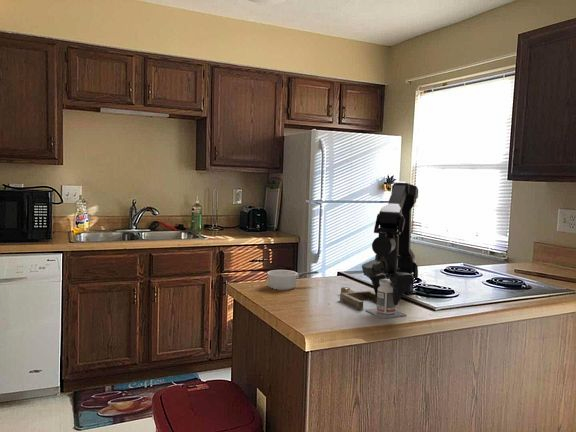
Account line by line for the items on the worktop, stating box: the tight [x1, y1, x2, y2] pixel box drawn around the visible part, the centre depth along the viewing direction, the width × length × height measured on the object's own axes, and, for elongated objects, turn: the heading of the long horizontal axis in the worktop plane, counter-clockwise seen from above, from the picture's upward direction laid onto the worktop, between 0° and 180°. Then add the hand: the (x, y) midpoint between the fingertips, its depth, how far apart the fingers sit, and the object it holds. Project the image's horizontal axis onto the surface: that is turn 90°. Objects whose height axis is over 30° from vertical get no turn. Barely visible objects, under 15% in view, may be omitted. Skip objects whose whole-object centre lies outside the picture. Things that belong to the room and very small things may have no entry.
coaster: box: [365, 307, 408, 320], centre depth 149 cm, size 9×9×1 cm
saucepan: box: [266, 269, 319, 291], centre depth 181 cm, size 12×20×6 cm, turn 109°
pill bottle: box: [376, 278, 397, 314], centre depth 149 cm, size 6×6×10 cm
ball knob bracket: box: [339, 286, 377, 310], centre depth 164 cm, size 12×20×2 cm, turn 24°
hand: (386, 301), depth 149 cm, fingers open, 9 cm apart
